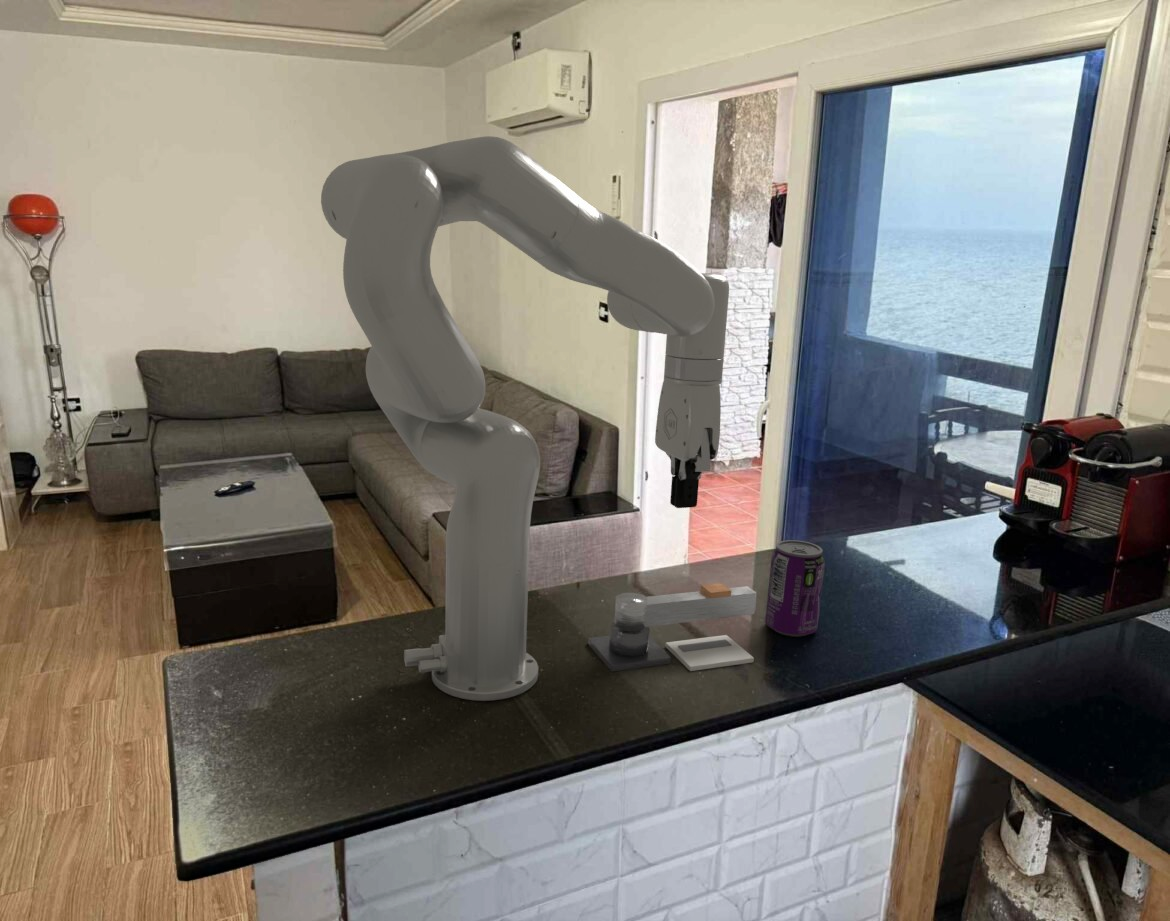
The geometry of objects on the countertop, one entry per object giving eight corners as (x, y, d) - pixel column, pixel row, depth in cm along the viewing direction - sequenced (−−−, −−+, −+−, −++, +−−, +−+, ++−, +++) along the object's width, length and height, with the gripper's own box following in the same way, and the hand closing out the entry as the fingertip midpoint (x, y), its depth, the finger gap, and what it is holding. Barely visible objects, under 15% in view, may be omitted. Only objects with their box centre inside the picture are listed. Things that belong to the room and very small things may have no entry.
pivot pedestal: (611, 671, 105) (612, 645, 105) (588, 643, 113) (589, 618, 112) (670, 663, 108) (672, 637, 107) (643, 636, 115) (645, 612, 115)
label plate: (690, 671, 106) (690, 665, 106) (665, 646, 113) (665, 641, 113) (753, 662, 110) (754, 656, 109) (725, 639, 116) (726, 633, 116)
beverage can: (818, 643, 116) (828, 558, 113) (764, 636, 117) (772, 552, 115) (815, 622, 123) (824, 542, 120) (764, 616, 124) (772, 536, 121)
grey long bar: (621, 632, 107) (623, 604, 106) (609, 619, 111) (611, 592, 110) (758, 616, 114) (760, 589, 113) (742, 604, 117) (744, 578, 117)
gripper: (643, 362, 118) (635, 492, 122) (694, 379, 104) (683, 524, 108) (692, 362, 120) (683, 489, 124) (748, 378, 107) (736, 520, 111)
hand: (683, 505), depth 116 cm, fingers closed
